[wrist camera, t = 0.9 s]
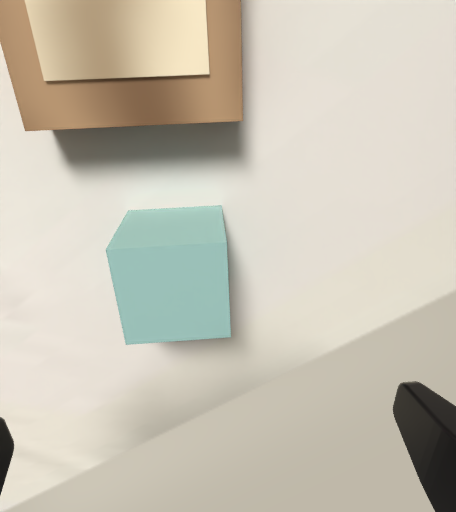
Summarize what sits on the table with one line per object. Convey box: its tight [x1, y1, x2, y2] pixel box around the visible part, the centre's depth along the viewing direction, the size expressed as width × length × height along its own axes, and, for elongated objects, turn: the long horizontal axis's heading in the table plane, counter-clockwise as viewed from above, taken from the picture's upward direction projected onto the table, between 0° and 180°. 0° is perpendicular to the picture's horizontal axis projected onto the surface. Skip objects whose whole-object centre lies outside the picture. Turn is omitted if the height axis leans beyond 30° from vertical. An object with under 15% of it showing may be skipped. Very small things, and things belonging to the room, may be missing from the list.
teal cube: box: [106, 205, 231, 345], centre depth 18 cm, size 5×5×5 cm
